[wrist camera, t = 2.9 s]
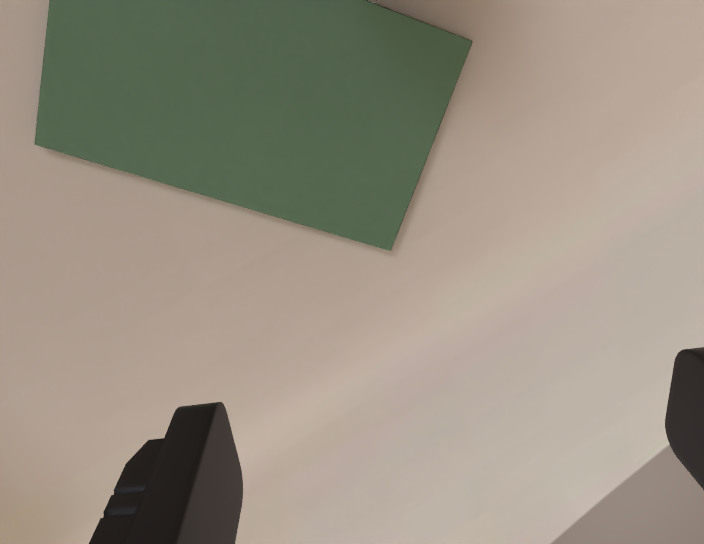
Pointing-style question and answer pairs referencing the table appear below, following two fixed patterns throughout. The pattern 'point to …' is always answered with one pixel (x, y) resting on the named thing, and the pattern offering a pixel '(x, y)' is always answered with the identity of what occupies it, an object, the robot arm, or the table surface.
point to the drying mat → (254, 102)
